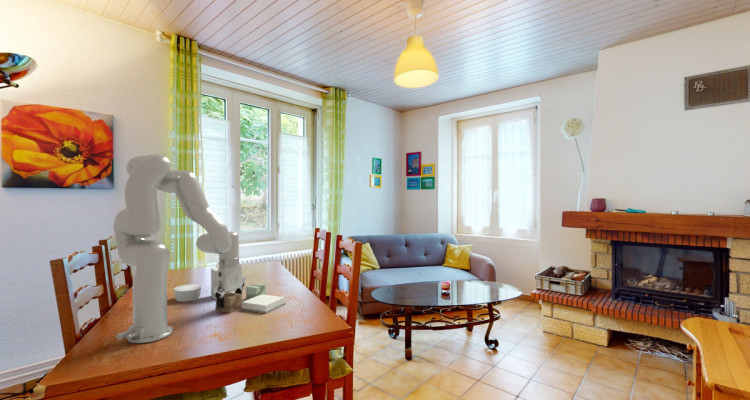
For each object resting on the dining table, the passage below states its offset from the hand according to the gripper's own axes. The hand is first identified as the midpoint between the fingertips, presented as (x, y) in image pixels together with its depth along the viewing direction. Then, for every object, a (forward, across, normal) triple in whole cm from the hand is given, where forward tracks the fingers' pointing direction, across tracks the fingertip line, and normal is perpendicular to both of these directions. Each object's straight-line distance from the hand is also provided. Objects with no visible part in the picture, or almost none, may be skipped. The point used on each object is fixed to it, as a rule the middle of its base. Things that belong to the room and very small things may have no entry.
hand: (229, 303), depth 140 cm
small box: (+3, +12, +17) cm, 21 cm away
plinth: (+2, +8, -11) cm, 13 cm away
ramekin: (+3, +4, +28) cm, 28 cm away
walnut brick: (+2, 0, 0) cm, 2 cm away
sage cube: (+3, +16, 0) cm, 16 cm away
